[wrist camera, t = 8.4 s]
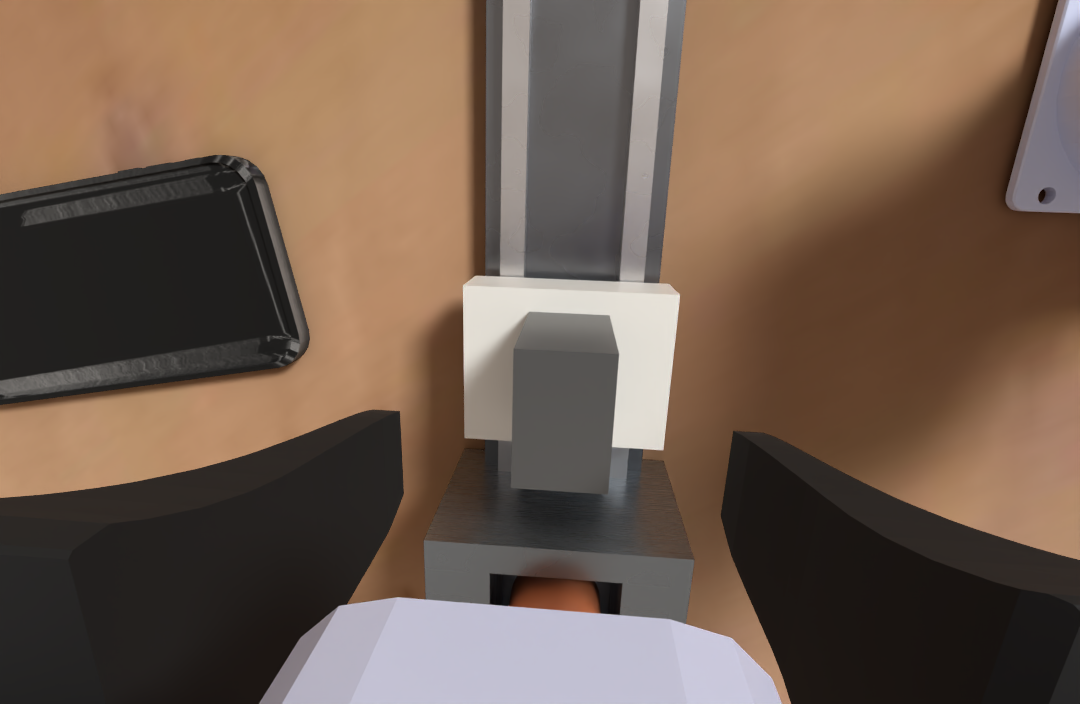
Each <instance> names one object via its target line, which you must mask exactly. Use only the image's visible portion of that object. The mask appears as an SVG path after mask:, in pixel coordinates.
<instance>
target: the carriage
mask: <svg viewBox="0 0 1080 704" xmlns="http://www.w3.org/2000/svg"><path fill="white" fill-rule="evenodd" d="M679 301H680V294H679V293H678V292H677V291H676V290H675V289H674V288H673V287H672V286H671V285H670V284H660V283H637V282H613V281H590V280H567V279H544V278H520V277H497V276H474V277H473V278H472V279H471V280H469V281H468V282H467V283H466V284H464V285H463V332H464V438H471V439H487V440H504V441H512V457H511V488H518V489H533V490H548V491H563V492H578V493H593V494H608V491H609V478H610V465H611V452H612V447H619V448H635V449H652V450H663V448H664V439H665V430H666V421H667V411H668V402H669V393H670V384H671V375H672V365H673V356H674V347H675V338H676V329H677V319H678V310H679Z"/></svg>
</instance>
